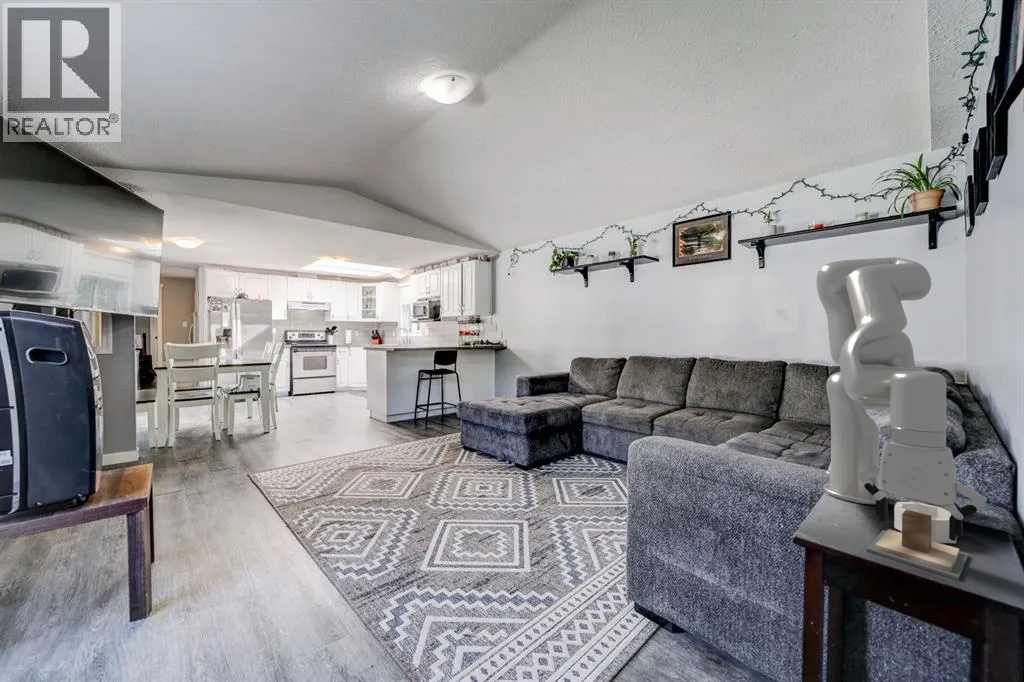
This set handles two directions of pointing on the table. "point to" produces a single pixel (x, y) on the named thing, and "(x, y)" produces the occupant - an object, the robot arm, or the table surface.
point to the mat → (954, 572)
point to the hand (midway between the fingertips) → (916, 528)
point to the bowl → (938, 514)
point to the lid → (918, 542)
